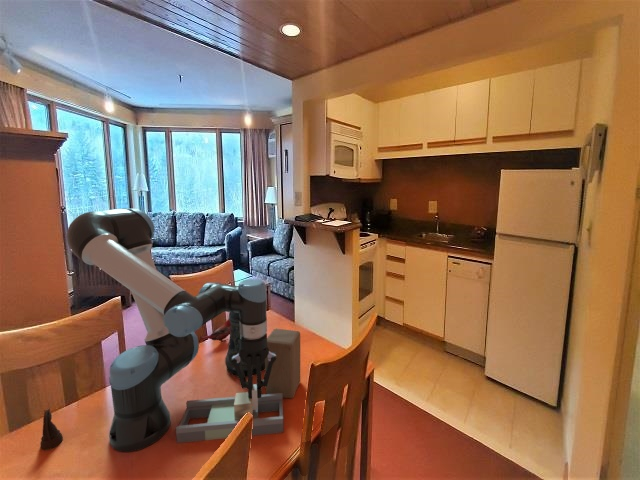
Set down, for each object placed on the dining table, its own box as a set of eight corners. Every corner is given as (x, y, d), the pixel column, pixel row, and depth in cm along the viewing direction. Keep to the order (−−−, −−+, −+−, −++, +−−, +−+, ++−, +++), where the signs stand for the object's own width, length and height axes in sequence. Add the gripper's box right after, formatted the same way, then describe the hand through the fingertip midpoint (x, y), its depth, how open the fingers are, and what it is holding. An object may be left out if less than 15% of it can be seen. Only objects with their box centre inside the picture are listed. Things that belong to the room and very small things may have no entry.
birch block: (234, 420, 89) (233, 404, 88) (236, 407, 94) (236, 393, 93) (252, 418, 90) (251, 403, 89) (253, 406, 94) (252, 391, 94)
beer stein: (253, 382, 110) (251, 317, 106) (210, 369, 117) (206, 308, 113) (276, 358, 125) (275, 300, 121) (236, 348, 133) (234, 293, 128)
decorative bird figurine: (238, 337, 142) (237, 317, 140) (202, 353, 129) (200, 330, 127) (234, 335, 144) (233, 315, 142) (198, 350, 130) (197, 328, 129)
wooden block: (293, 400, 102) (293, 344, 98) (264, 395, 103) (263, 341, 100) (301, 381, 111) (301, 330, 107) (274, 377, 113) (273, 327, 109)
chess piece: (64, 433, 87) (59, 402, 85) (61, 446, 83) (55, 414, 81) (42, 440, 85) (36, 408, 83) (38, 454, 80) (32, 421, 79)
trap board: (177, 442, 84) (175, 428, 84) (188, 413, 95) (187, 400, 94) (283, 432, 88) (283, 418, 88) (282, 405, 99) (282, 392, 98)
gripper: (228, 341, 83) (231, 418, 87) (276, 339, 85) (277, 413, 89) (231, 328, 90) (234, 399, 95) (276, 326, 92) (277, 396, 97)
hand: (255, 406), depth 92 cm, fingers closed
